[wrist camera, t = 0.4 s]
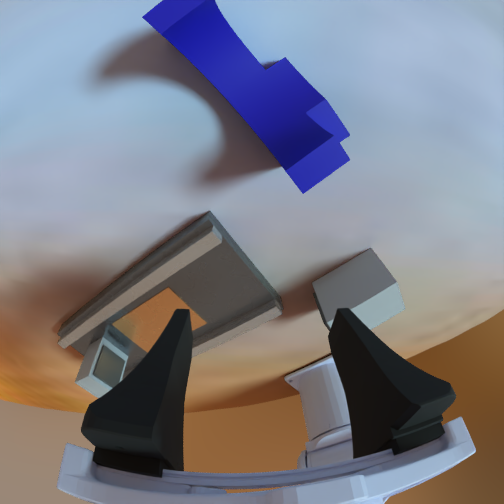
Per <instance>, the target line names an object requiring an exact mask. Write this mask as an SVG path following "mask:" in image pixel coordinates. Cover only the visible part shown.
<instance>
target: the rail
mask: <svg viewBox="0 0 504 504" xmlns="http://www.w3.org/2000/svg"><path fill="white" fill-rule="evenodd" d="M176 309H190V317H191V326H192V334H193V346H192V357H194V356H197V355H199V354H201V353H203V352H205V351H208V350H210V349H212V348H214V347H216V346H219V345H221V344H223V343H225V342H227V341H229V340H231V339H233V338H235V337H237V336H240V335H242V334H244V333H246V332H248V331H250V330H252V329H254V328H256V327H258V326H260V325H262V324H264V323H266V322H268V321H270V320H272V319H274V318H275V317H277V316H279V315H281V314H282V310H283V305H282V300H281V297H280V296H279V295H278V294H277V292H276V291H275V290H274V289H273V287H272V286H271V285H270V284H269V283H268V281H267V280H266V279H265V278H264V276H263V275H262V274H261V273H260V272H259V270H258V269H257V268H256V267H255V265H254V264H253V263H252V262H251V261H250V259H249V258H248V257H247V256H246V254H245V253H244V252H243V251H242V249H241V248H240V247H239V246H238V245H237V243H236V242H235V241H234V240H233V238H232V237H231V236H230V235H229V233H228V232H227V231H226V230H225V229H224V227H223V226H222V225H221V224H220V222H219V221H218V220H217V219H216V217H215V216H214V215H213V214H212V213H211V211H209V212H208V213H206V214H205V215H204V216H202V217H201V218H199V219H198V220H196V221H195V222H194V223H192V224H191V225H189V226H188V227H186V228H185V229H184V230H182V231H181V232H179V233H178V234H177V235H175V236H174V237H173V238H171V239H170V240H168V241H167V242H166V243H164V244H163V245H162V246H160V247H159V248H157V249H156V250H155V251H153V252H152V253H151V254H149V255H148V256H147V257H145V258H144V259H143V260H141V261H140V262H139V263H138V264H136V265H135V266H134V267H132V268H131V269H130V270H128V271H127V272H126V273H125V274H123V275H122V276H121V277H119V278H118V279H117V280H116V281H114V282H113V283H112V284H111V285H109V286H108V287H107V288H106V289H104V290H103V291H102V292H101V293H99V294H98V295H97V296H96V297H94V298H93V299H92V300H91V301H90V302H88V303H87V304H86V305H85V306H84V307H82V308H81V309H80V310H79V311H78V312H76V313H75V314H74V315H73V316H72V317H70V318H69V319H68V320H67V321H66V322H65V323H64V324H62V326H61V328H60V330H59V332H58V333H57V334H58V335H59V336H60V339H59V341H58V343H57V344H59V345H60V346H61V347H62V348H64V349H65V348H66V347H68V346H69V345H71V346H72V347H73V348H75V349H76V350H77V351H78V352H80V353H81V354H82V355H83V356H85V354H86V351H87V349H88V346H89V345H90V344H92V343H94V342H95V341H97V340H98V339H100V338H102V337H104V338H105V339H106V340H108V341H109V342H110V343H111V344H113V345H114V346H115V347H117V348H118V349H119V350H121V351H122V352H123V353H125V354H126V355H127V356H128V359H127V362H126V366H125V370H124V373H123V377H122V380H123V379H124V378H125V377H126V376H127V375H128V374H129V373H130V372H131V371H132V370H133V369H134V368H135V367H136V366H137V365H138V364H139V363H140V361H141V360H142V359H143V358H144V357H145V355H146V354H147V353H148V352H149V350H150V349H151V348H152V346H153V345H154V344H155V342H156V341H157V339H158V338H159V336H160V335H161V333H162V332H163V330H164V329H165V327H166V326H167V324H168V322H169V320H170V319H171V317H172V315H173V313H174V311H175V310H176Z"/></svg>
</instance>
